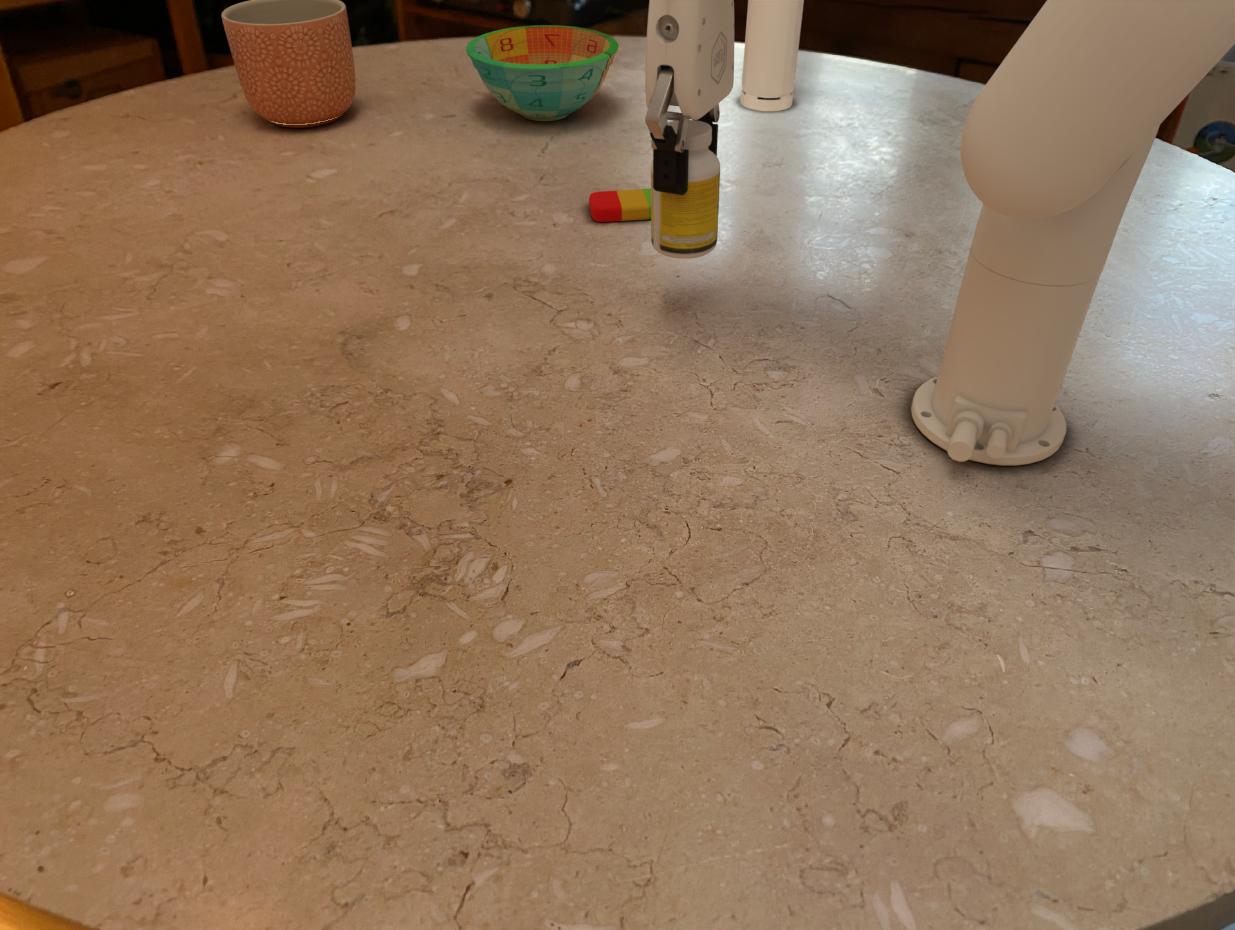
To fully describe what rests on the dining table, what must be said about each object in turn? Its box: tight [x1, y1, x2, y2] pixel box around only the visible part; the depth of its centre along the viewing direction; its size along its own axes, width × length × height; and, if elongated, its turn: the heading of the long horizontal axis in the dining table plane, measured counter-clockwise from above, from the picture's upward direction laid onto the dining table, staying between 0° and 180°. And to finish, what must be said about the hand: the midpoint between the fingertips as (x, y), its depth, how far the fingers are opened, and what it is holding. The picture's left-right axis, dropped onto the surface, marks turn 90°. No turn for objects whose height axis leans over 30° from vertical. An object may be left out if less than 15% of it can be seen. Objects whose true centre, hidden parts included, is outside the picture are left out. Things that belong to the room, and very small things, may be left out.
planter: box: [220, 0, 357, 129], centre depth 138 cm, size 17×17×15 cm
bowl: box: [465, 24, 620, 122], centre depth 140 cm, size 22×22×10 cm
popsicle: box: [588, 188, 651, 223], centre depth 115 cm, size 6×15×2 cm, turn 98°
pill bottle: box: [650, 119, 721, 260], centre depth 88 cm, size 6×6×12 cm
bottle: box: [739, 0, 805, 112], centre depth 138 cm, size 8×8×28 cm
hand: (685, 176), depth 88 cm, fingers closed on pill bottle, 6 cm apart
